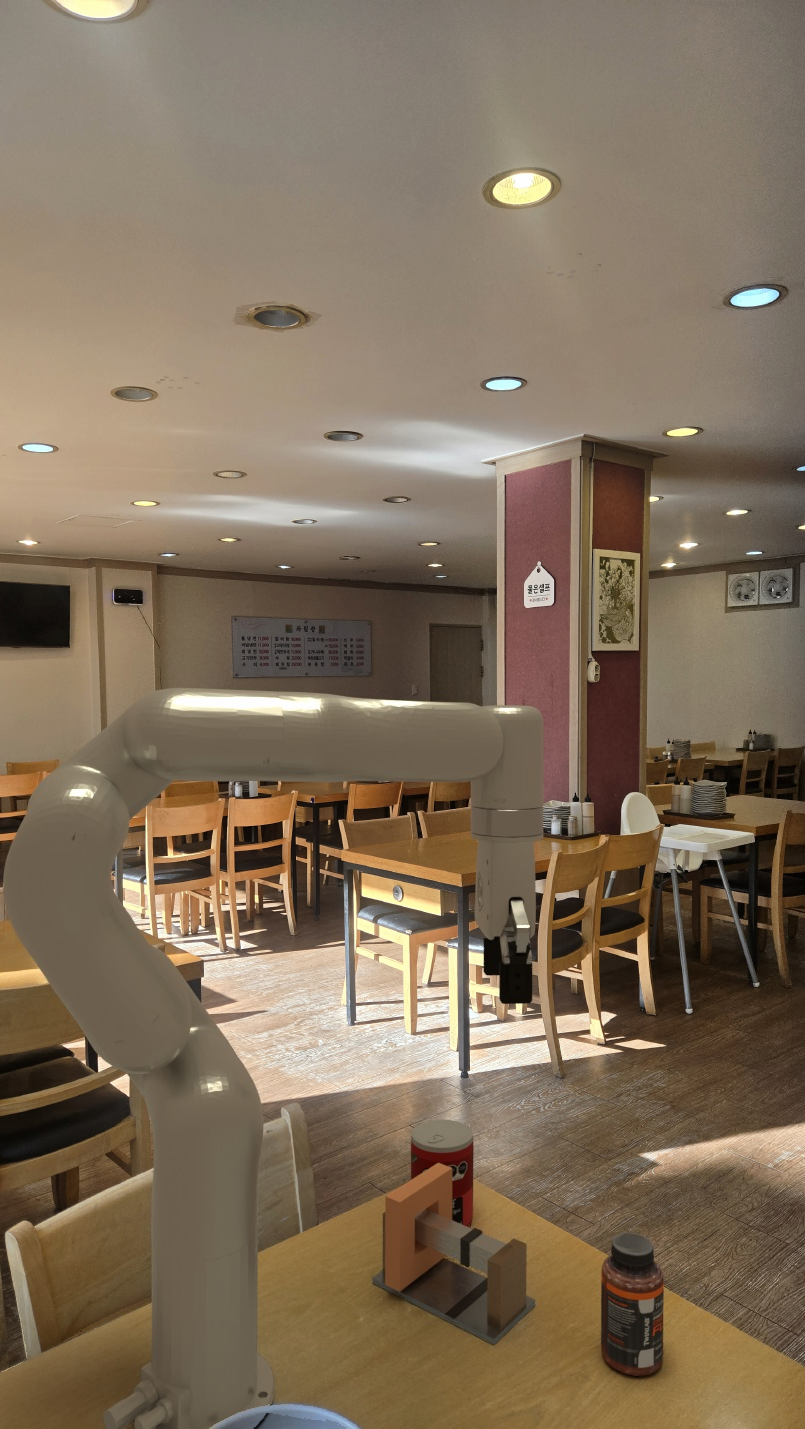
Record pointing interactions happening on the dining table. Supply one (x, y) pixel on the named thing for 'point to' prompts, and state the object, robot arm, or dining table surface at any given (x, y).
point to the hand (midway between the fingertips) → (506, 987)
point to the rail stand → (468, 1278)
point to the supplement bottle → (632, 1306)
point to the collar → (400, 1211)
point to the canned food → (447, 1160)
